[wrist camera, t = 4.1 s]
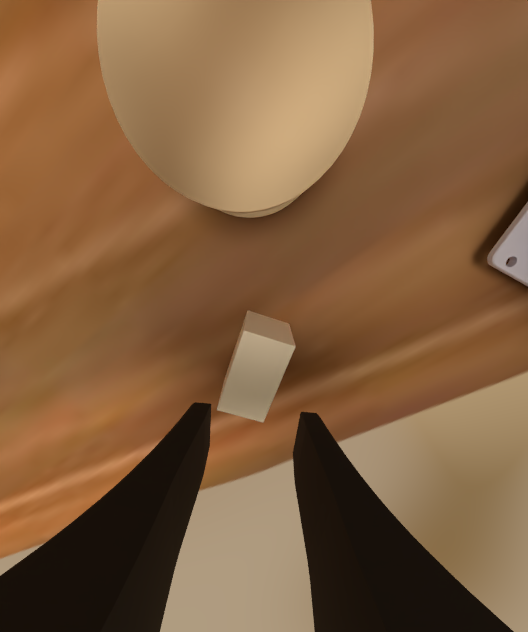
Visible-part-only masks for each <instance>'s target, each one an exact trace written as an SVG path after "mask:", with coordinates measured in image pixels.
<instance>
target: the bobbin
mask: <svg viewBox="0 0 528 632" xmlns="http://www.w3.org/2000/svg"><path fill="white" fill-rule="evenodd" d="M97 40H98V52H99V59H100V65H101V70H102V76H103V80H104V84H105V87H106V90H107V94H108V97H109V100H110V103H111V105H112V108H113V110H114V113H115V116H116V118H117V120H118V122H119V124H120V126H121V128H122V130H123V132H124V134H125V136H126V137H127V139H128V140H129V142H130V144H131V145H132V147H133V148H134V150H135V151H136V153H137V154H138V155H139V156H140V158H141V159H142V160H143V161H144V162H145V164H146V165H147V166H148V167H149V168H150V169H151V170H152V171H153V172H154V173H155V174H156V175H157V176H158V177H159V178H160V179H161V180H162V181H163V182H165V183H166V184H167V185H169V186H170V187H171V188H172V189H174V190H175V191H177V192H178V193H180V194H182V195H184V196H185V197H187V198H189V199H190V200H193V201H195V202H198V203H200V204H202V205H205V206H208V207H210V208H214V209H217V210H219V211H222V212H224V213H227V214H229V215H233V216H237V217H244V218H257V217H263V216H267V215H270V214H273V213H275V212H278V211H280V210H282V209H283V208H285V207H286V206H288V205H289V204H291V203H292V202H293V201H294V200H295V199H297V198H298V197H299V196H300V195H301V194H302V193H303V192H304V191H305V190H307V189H308V188H309V187H310V186H311V185H313V184H314V183H315V182H316V181H317V180H318V179H320V178H321V177H322V175H323V174H324V173H325V172H326V171H327V170H328V169H329V168H330V167H331V166H332V164H333V163H334V162H335V160H336V159H337V158H338V156H339V155H340V154H341V152H342V151H343V149H344V147H345V146H346V144H347V142H348V140H349V139H350V137H351V135H352V133H353V131H354V129H355V126H356V124H357V122H358V119H359V117H360V115H361V112H362V108H363V105H364V102H365V99H366V96H367V91H368V86H369V82H370V77H371V71H372V61H373V51H374V26H373V16H372V6H371V0H98V6H97Z"/></svg>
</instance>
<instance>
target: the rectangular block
mask: <svg viewBox="0 0 528 632" xmlns="http://www.w3.org/2000/svg"><path fill="white" fill-rule="evenodd" d="M295 347H296V346H295V343H294V339H293V335H292V332H291V328H290V325H289V323H286V322H283V321H280V320H277V319H274V318H271V317H267V316H264V315H261V314H258V313H255V312H252V311H249V310H247V313H246V316H245V319H244V322H243V325H242V328H241V331H240V334H239V337H238V340H237V343H236V346H235V349H234V352H233V355H232V358H231V361H230V364H229V367H228V370H227V373H226V376H225V379H224V383H223V387H222V391H221V395H220V399H219V403H218V407H217V410H219V411H222V412H226V413H230V414H233V415H237V416H241V417H244V418H248V419H252V420H256V421H259V422H264V420H265V417H266V415H267V413H268V410H269V408H270V406H271V403H272V401H273V399H274V396H275V394H276V391H277V389H278V387H279V384H280V382H281V380H282V377H283V375H284V373H285V370H286V368H287V366H288V363H289V361H290V359H291V356H292V354H293V351H294V349H295Z"/></svg>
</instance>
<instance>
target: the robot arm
mask: <svg viewBox="0 0 528 632" xmlns="http://www.w3.org/2000/svg"><path fill="white" fill-rule="evenodd" d="M508 258H510V260H509V262H508V264H507V265H506V261H507V259H508ZM487 261H488V264H489V265H490V266H492V267H494V268H496V269H497V270H499V271H501V272H503V273H505V274H506V275H508V276H510V277H512V278H513V279H515V280H517V281H519V282H521V283H522V284H524V285H526V286H528V202H527V203H526V205H525V206H524V207H523V209H522V210H521V211H520V213H519V214H518V215H517V217H516V218H515V219H514V221H513V222H512V223H511V225H510V226H509V227H508V229H507V230H506V231H505V233H504V234H503V235H502V236H501V238H500V239H499V240H498V242H497V243H496V244H495V246H494V247H493V248H492V250H491V251H490V253H489V254H488V257H487ZM210 422H211V404H207V403H194V404H192V405H191V406H190V408H189V409H188V410H187V412H186V413H185V414H184V415H183V416H182V418H181V419H180V420H179V421H178V422H177V424H176V425H175V426H174V427H173V428H172V429H171V431H170V432H169V433H168V434H167V435H166V436H165V437H164V438H163V439H162V440H161V441H160V443H159V444H158V445H157V446H156V447H155V448H154V449H153V450H152V451H151V452H150V453H149V454H148V455H147V456H146V457H145V458H144V459H143V460H142V461H141V462H140V463H139V464H138V465H137V466H136V467H135V468H134V469H133V470H132V471H131V472H130V473H129V474H128V475H127V476H126V477H124V478H123V479H122V480H121V481H120V482H119V483H118V484H117V485H116V486H115V487H114V488H112V489H111V490H110V491H109V492H108V493H107V494H106V495H104V496H103V497H102V498H101V499H100V500H99V501H97V502H96V503H95V504H94V505H93V506H91V507H90V508H89V509H88V510H87V511H85V512H84V513H83V514H82V515H80V516H79V517H78V518H77V519H75V520H74V521H73V522H72V523H71V524H69V525H68V526H67V527H66V528H64V529H63V530H62V531H60V532H59V533H58V534H57V535H55V536H54V537H53V538H51V539H50V540H49V541H47V542H46V543H45V544H43V545H42V546H41V547H39V548H38V549H37V550H35V551H34V552H32V553H31V554H30V555H28V556H27V557H26V558H24V559H23V560H21V561H20V562H19V563H17V564H16V565H15V566H13V567H12V568H10V569H9V570H8V571H6V572H5V573H4V574H2V575H1V576H0V632H160V628H161V624H162V619H163V615H164V611H165V607H166V602H167V598H168V594H169V590H170V586H171V582H172V578H173V574H174V569H175V566H176V562H177V559H178V555H179V551H180V548H181V545H182V542H183V538H184V536H185V532H186V529H187V526H188V523H189V519H190V516H191V513H192V510H193V507H194V504H195V501H196V497H197V494H198V491H199V488H200V485H201V481H202V478H203V475H204V470H205V465H206V461H207V456H208V451H209V446H210ZM293 461H294V477H295V486H296V492H297V499H298V504H299V511H300V517H301V523H302V529H303V535H304V542H305V548H306V554H307V559H308V567H309V575H310V582H311V583H310V584H311V595H312V605H313V616H314V627H315V632H513V631H512V630H511V629H510V628H509V627H508V626H507V625H506V624H504V623H503V622H502V621H501V620H500V619H499V618H498V617H497V616H496V615H494V614H493V613H492V612H491V611H490V610H489V609H488V608H487V607H486V606H485V605H483V604H482V603H481V602H480V601H479V600H478V599H477V598H476V597H474V596H473V595H472V594H471V593H470V592H469V591H468V590H467V589H466V588H465V587H464V586H463V585H462V584H461V583H460V582H459V581H458V580H456V579H455V578H454V577H453V576H452V575H451V574H450V573H449V572H448V571H447V570H446V569H445V568H444V567H443V566H442V565H441V564H440V563H439V562H438V561H437V560H436V559H435V558H434V557H433V556H432V555H431V554H430V553H429V552H428V551H427V550H426V549H425V548H424V547H423V546H422V545H421V544H420V543H419V542H418V541H417V540H416V539H415V538H414V537H413V536H412V535H411V534H410V533H409V532H408V530H407V529H406V528H405V527H404V526H403V525H402V524H401V523H400V522H399V521H398V520H397V519H396V517H395V516H394V515H393V514H392V513H391V512H390V511H389V510H388V508H387V507H386V506H385V505H384V504H383V503H382V501H381V500H380V499H379V498H378V497H377V495H376V494H375V493H374V492H373V490H372V489H371V488H370V487H369V485H368V484H367V483H366V482H365V480H364V479H363V478H362V477H361V475H360V474H359V473H358V471H357V470H356V469H355V467H354V466H353V465H352V463H351V462H350V461H349V459H348V458H347V457H346V455H345V454H344V452H343V451H342V450H341V448H340V447H339V445H338V444H337V442H336V441H335V439H334V438H333V436H332V435H331V433H330V432H329V430H328V429H327V427H326V426H325V424H324V423H323V421H322V420H321V418H320V417H319V415H318V414H317V413H308V412H301V414H300V419H299V424H298V430H297V435H296V440H295V445H294V451H293Z"/></svg>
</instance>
